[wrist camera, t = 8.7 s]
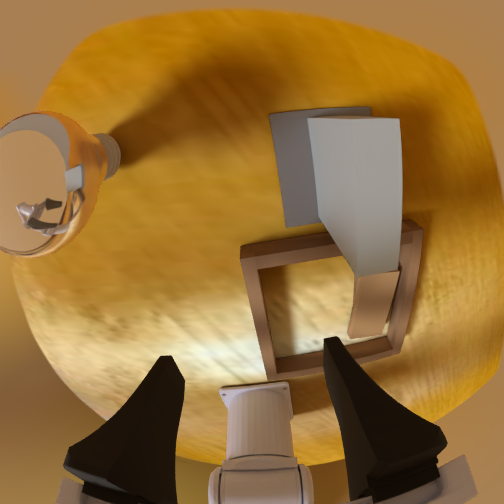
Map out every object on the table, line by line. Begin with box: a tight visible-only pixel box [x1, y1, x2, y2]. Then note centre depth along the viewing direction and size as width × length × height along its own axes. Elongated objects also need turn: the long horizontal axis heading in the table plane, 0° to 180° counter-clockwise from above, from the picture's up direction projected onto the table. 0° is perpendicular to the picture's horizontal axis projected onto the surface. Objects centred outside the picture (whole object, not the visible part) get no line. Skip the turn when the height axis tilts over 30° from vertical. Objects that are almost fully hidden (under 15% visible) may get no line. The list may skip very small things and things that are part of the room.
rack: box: [240, 220, 424, 381], centre depth 22 cm, size 14×14×2 cm
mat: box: [269, 107, 371, 228], centre depth 18 cm, size 8×7×1 cm
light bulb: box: [0, 111, 121, 258], centre depth 12 cm, size 7×7×12 cm
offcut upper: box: [347, 270, 400, 339], centre depth 23 cm, size 7×3×1 cm, turn 3°
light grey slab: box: [307, 116, 402, 278], centre depth 14 cm, size 7×2×8 cm, turn 10°
